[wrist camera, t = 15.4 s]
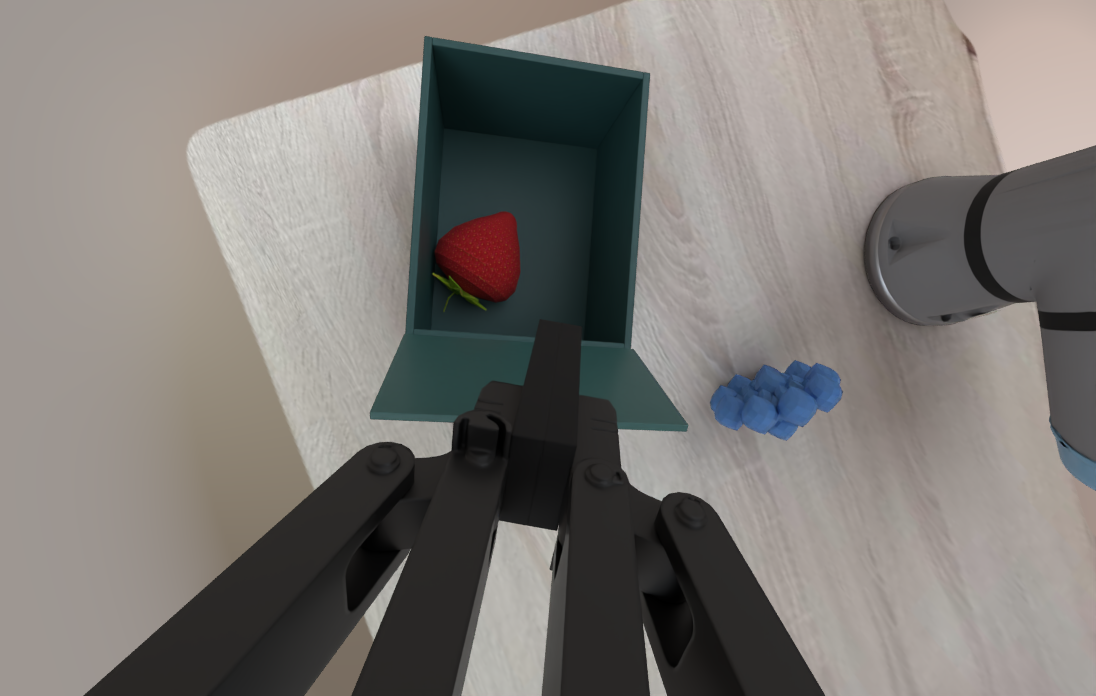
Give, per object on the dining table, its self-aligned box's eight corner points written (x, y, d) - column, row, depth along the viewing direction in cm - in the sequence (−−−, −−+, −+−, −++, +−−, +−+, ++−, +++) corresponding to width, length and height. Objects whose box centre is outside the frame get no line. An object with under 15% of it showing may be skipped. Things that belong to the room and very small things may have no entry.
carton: (587, 347, 44) (630, 351, 32) (425, 336, 42) (405, 335, 30) (601, 146, 44) (650, 72, 32) (439, 124, 42) (424, 35, 29)
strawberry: (535, 244, 44) (478, 334, 43) (467, 192, 41) (405, 288, 40) (558, 237, 38) (492, 341, 37) (481, 178, 35) (409, 288, 35)
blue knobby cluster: (695, 447, 46) (771, 486, 34) (675, 383, 46) (745, 400, 34) (796, 408, 48) (902, 432, 36) (778, 346, 47) (880, 349, 36)
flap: (634, 349, 31) (632, 354, 31) (404, 333, 29) (404, 339, 29) (688, 425, 23) (686, 432, 23) (369, 411, 20) (370, 419, 21)
